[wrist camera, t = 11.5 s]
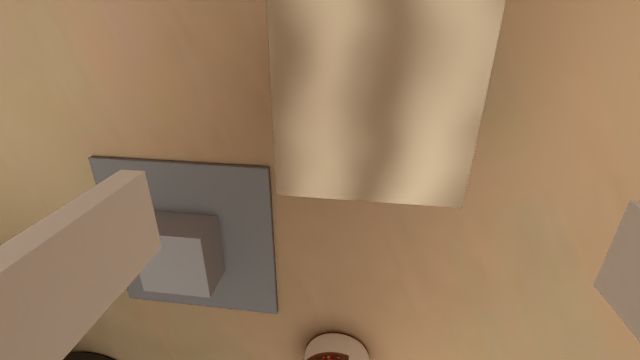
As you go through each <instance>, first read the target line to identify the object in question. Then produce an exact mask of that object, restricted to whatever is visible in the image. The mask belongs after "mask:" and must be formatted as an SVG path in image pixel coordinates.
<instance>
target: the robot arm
mask: <svg viewBox="0 0 640 360" xmlns="http://www.w3.org/2000/svg"><path fill="white" fill-rule="evenodd" d="M161 248H162V245H161V240H160V236H159V231H158V227H157V222H156V218H155V214H154V209H153V205H152V200H151V196H150V192H149V187H148V183H147V178H146V174H145V171H136V170H119V171H118V172H116V173H115V174H113V175H111V176H110V177H108V178H107V179H105V180H103V181H102V182H100V183H99V184H97V185H95V186H94V187H92V188H91V189H89V190H87V191H86V192H84V193H83V194H81V195H80V196H78V197H76V198H75V199H73V200H72V201H70V202H68V203H67V204H65V205H64V206H62V207H60V208H59V209H57V210H56V211H54V212H52V213H51V214H49V215H48V216H46V217H45V218H43V219H41V220H40V221H38V222H37V223H35V224H33V225H32V226H30V227H29V228H27V229H25V230H24V231H22V232H21V233H19V234H17V235H16V236H14V237H13V238H11V239H10V240H8V241H6V242H5V243H3V244H2V245H0V360H112V359H110V358H107V357H104V356H101V355H97V354H92V353H83V352H78V353H71V354H68V353H69V352H70V351H71V350H72V349H73V348H74V347H75V345H76V344H77V343H78V342H79V341H80V340H81V339H82V338H83V336H84V335H85V334H86V333H87V332H88V331H89V330H90V329H91V327H92V326H93V325H94V324H95V323H96V322H97V321H98V320H99V318H100V317H101V316H102V315H103V314H104V313H105V312H106V311H107V309H108V308H109V307H110V306H111V305H112V304H113V303H114V301H115V300H116V299H117V298H118V297H119V296H120V295H121V294H122V292H123V291H124V290H125V289H126V288H127V287H128V286H129V285H130V283H131V282H132V281H133V280H134V279H135V278H136V277H137V276H138V274H139V273H140V272H141V271H142V270H143V269H144V268H145V267H146V265H147V264H148V263H149V262H150V261H151V260H152V259H153V258H154V256H155V255H156V254H157V253H158V252H159V251H160V250H161ZM594 286H595V288H596V289H597V290H598V291H599V292H600V294H601V295H602V296H603V297H604V299H605V300H606V301H607V302H608V304H609V305H610V306H611V307H612V308H613V310H614V311H615V312H616V313H617V315H618V316H619V317H620V318H621V319H622V321H623V322H624V323H625V324H626V326H627V327H628V328H629V329H630V331H631V332H632V333H633V334H634V335H635V337H636V338H637V339H638V340H639V342H640V201H632V200H630V201H629V204H628V206H627V208H626V211H625V213H624V215H623V218H622V220H621V222H620V225H619V227H618V229H617V232H616V234H615V236H614V238H613V241H612V243H611V245H610V248H609V250H608V252H607V255H606V257H605V259H604V262H603V264H602V266H601V269H600V271H599V273H598V275H597V278H596V280H595V282H594Z"/></svg>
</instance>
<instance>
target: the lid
mask: <svg viewBox="0 0 640 360" xmlns="http://www.w3.org/2000/svg"><path fill="white" fill-rule="evenodd" d="M505 3H506V0H266V6H267V25H268V44H269V63H270V83H271V102H272V121H273V140H274V159H275V178H276V195H284V196H298V197H313V198H327V199H341V200H356V201H370V202H384V203H399V204H413V205H428V206H442V207H456V208H463V205H464V200H465V195H466V190H467V185H468V181H469V176H470V171H471V166H472V161H473V157H474V152H475V147H476V142H477V137H478V133H479V128H480V123H481V118H482V113H483V109H484V104H485V99H486V94H487V89H488V84H489V80H490V75H491V70H492V65H493V60H494V56H495V51H496V46H497V41H498V36H499V32H500V27H501V22H502V17H503V12H504V8H505Z"/></svg>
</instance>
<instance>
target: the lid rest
mask: <svg viewBox="0 0 640 360" xmlns="http://www.w3.org/2000/svg"><path fill="white" fill-rule="evenodd" d="M89 162H90V165H91V168H92V172H93V175H94V179H95V182H96V185H97V184H99V183H100V182H102V181H103V180H105V179H107V178H108V177H110V176H111V175H113V174H115V173H116V172H118V171H119V170H136V171H145V174H146V178H147V183H148V187H149V192H150V196H151V200H152V205H153V209H154V214H155V218H156V222H157V227H158V231H159V236H160V240H161V245H162V248H161V250H160V251H159V252H158V253H157V254H156V255H155V256H154V258H153V259H152V260H151V261H150V262H149V263H148V264H147V265H146V267H145V268H144V269H143V270H142V271H141V272H140V273H139V274H138V276H137V277H136V278H135V279H134V280H133V281H132V282H131V283H130V285H129V286H128V287H127V290H128V293H129V297H130V298H135V299H144V300H153V301H163V302H172V303H181V304H190V305H199V306H208V307H217V308H227V309H236V310H245V311H254V312H263V313H272V314H277V312H278V302H277V285H276V269H275V252H274V235H273V218H272V202H271V185H270V168H269V167H265V166H248V165H231V164H215V163H198V162H181V161H165V160H148V159H132V158H115V157H98V156H91V157H89Z"/></svg>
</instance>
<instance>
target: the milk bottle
mask: <svg viewBox="0 0 640 360" xmlns="http://www.w3.org/2000/svg"><path fill="white" fill-rule="evenodd" d="M303 360H369V355H368V353H367V351H366V349H365V348H364V346H363V345H362V344H361V343H360V342H359V341H357V340H356V339H354V338H352V337H350V336H348V335H344V334H339V333H328V334H323V335H320V336H318V337H316V338H314V339H313V340H312V341H311V342H310V343H309V345H308V346H307V348H306V351H305V355H304V359H303Z"/></svg>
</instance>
